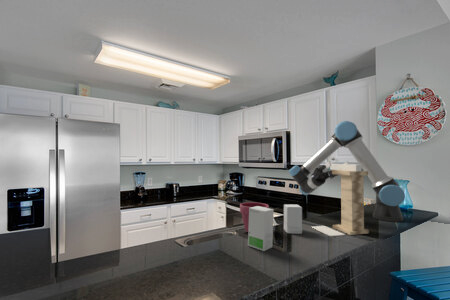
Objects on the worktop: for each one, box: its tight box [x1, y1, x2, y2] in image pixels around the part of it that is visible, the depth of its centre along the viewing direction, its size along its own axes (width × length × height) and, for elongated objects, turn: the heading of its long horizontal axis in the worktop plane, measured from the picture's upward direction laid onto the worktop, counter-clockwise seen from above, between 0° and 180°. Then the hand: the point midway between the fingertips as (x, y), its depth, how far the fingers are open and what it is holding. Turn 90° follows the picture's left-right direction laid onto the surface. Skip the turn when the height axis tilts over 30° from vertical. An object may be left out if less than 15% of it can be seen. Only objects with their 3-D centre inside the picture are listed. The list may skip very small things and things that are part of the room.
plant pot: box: [239, 201, 270, 232], centre depth 120 cm, size 14×14×13 cm
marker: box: [327, 163, 362, 171], centre depth 126 cm, size 3×21×3 cm, turn 16°
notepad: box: [311, 225, 346, 237], centre depth 119 cm, size 8×15×1 cm, turn 16°
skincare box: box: [247, 206, 275, 252], centre depth 98 cm, size 8×7×16 cm
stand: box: [331, 170, 370, 236], centre depth 121 cm, size 11×12×30 cm
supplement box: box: [283, 204, 303, 235], centre depth 119 cm, size 7×7×13 cm
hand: (339, 163), depth 129 cm, fingers open, 11 cm apart
